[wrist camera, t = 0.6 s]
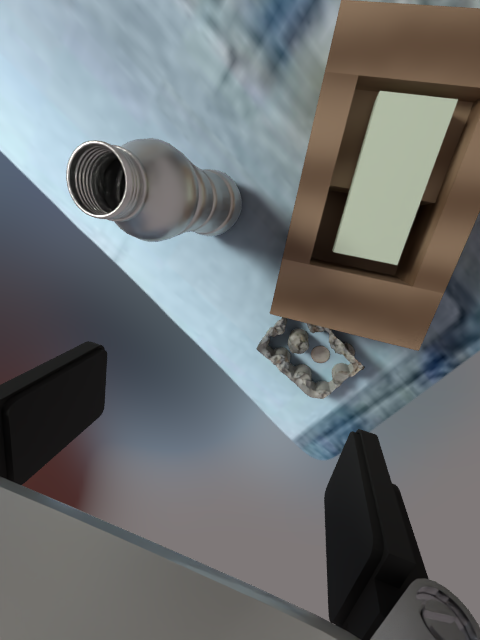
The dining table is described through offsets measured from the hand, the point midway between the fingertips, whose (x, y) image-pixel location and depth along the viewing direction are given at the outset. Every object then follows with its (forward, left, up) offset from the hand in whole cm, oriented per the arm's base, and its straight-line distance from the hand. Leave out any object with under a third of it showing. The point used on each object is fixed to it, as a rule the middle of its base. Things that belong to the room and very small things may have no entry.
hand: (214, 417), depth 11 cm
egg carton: (+7, +5, -26) cm, 27 cm away
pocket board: (-10, +7, -26) cm, 28 cm away
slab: (-11, +7, -22) cm, 25 cm away
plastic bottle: (-7, -9, -26) cm, 28 cm away
